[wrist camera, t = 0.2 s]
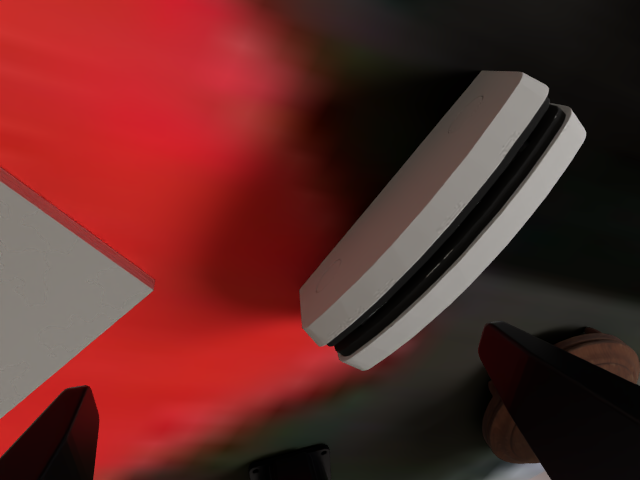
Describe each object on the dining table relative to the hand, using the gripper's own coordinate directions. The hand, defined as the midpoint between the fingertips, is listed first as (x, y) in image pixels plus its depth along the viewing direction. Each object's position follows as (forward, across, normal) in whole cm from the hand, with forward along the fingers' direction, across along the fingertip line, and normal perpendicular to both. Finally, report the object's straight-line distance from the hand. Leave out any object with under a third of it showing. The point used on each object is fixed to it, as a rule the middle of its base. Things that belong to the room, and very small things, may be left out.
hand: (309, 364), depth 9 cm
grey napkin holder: (+15, -9, +2) cm, 17 cm away
